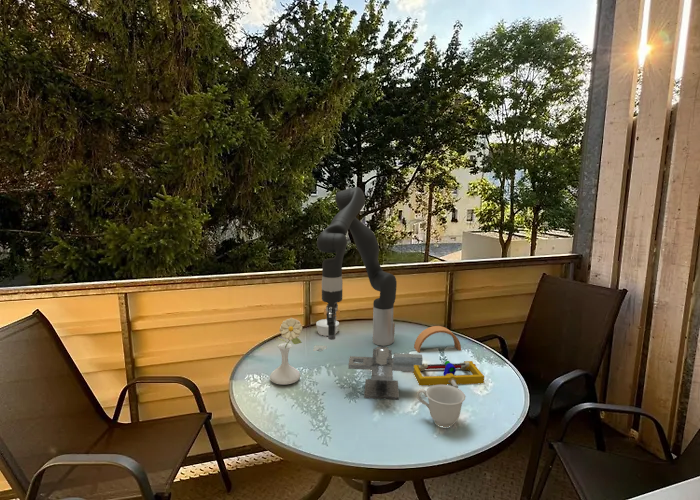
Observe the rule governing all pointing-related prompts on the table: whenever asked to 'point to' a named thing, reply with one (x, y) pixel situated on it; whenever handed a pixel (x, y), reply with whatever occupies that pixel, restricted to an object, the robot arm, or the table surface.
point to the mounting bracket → (317, 347)
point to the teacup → (443, 403)
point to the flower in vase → (285, 371)
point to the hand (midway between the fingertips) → (331, 332)
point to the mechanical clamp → (449, 374)
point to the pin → (331, 321)
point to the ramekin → (325, 327)
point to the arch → (433, 330)
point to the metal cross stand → (384, 371)
